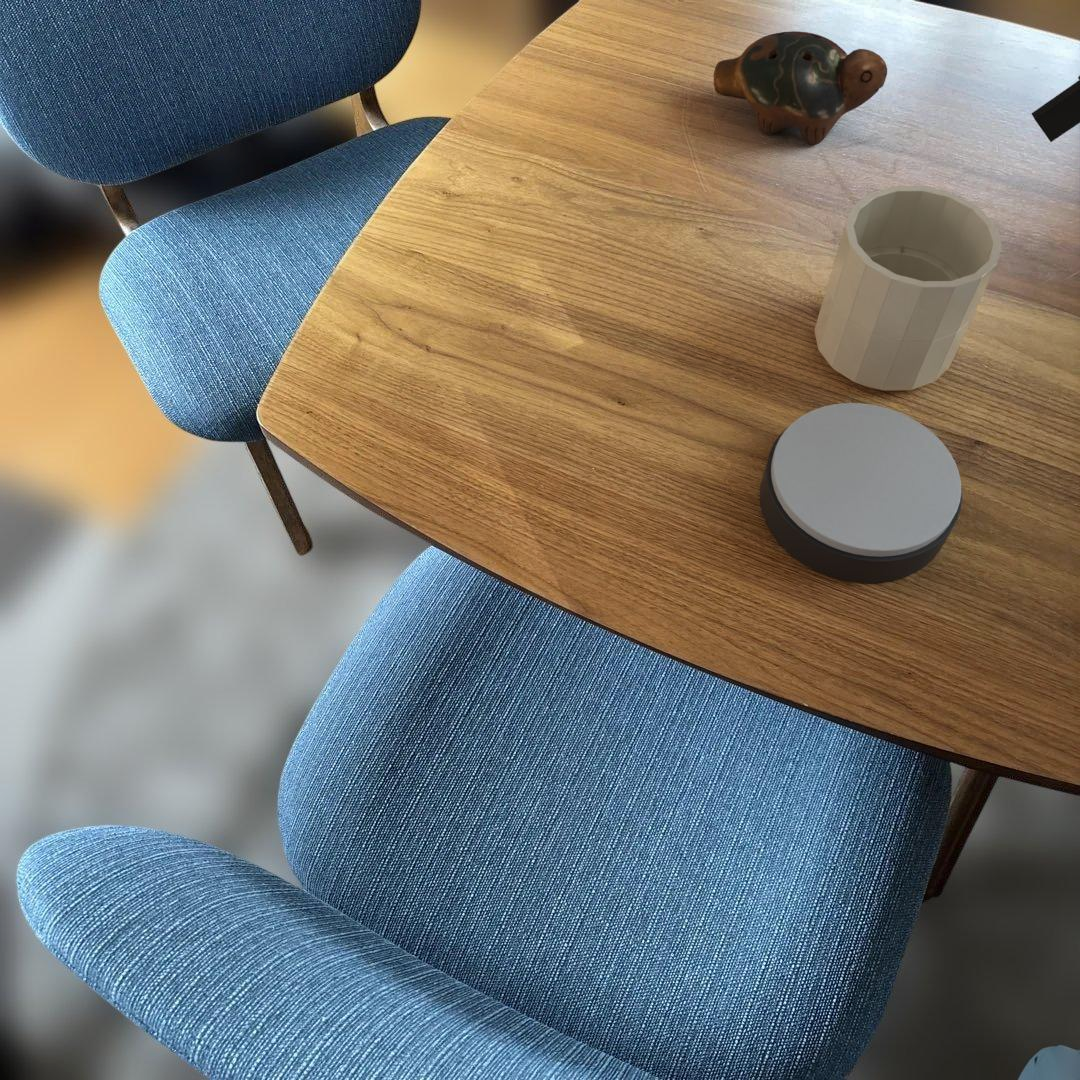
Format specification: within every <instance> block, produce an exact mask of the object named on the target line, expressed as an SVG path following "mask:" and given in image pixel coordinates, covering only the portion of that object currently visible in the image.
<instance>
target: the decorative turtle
mask: <svg viewBox="0 0 1080 1080" xmlns="http://www.w3.org/2000/svg"><path fill="white" fill-rule="evenodd" d="M887 76H888V66H887V63H886V61H885V60H884V58H883V57H882V56H880V55H879V54H878V53H876V52H875V51H874V50H873V51H872V50H870V49H866V48H857V49H854V50H852V51H851V52H849V53H847V52H846V51H845V50H844V49H843V48H842V47H841V46H840V45H838V44H837V43H836V42H834V41H833V40H831V39H829V38H827V37H825V36H823V35H820V34H818V33H817V34H816V33H812V32H807V31H799V30H798V31H797V30H796V31H793V30H791V31H782V32H781V31H780V32H775V33H771V34H768V35H765V36H763V37H760V38H758V39H757V40H754V41H753V42H752V43H750V44H749V46H747V47H746V48H745V49H744V50H743V52H742V53H741V54H740V55H739V56H737V57H735V58H729V59H723V60H720V61H718V62H717V63H716V65H715V67H714V70H713V87H714V91H715V92H716V93H717V94H719V95H721V96H724V97H728V98H734V99H741V100H742V99H743V100H746V101H747V102H748V104H749V105H750V107H751V108H752V109H753V111H754V112H755V117H756V122H757V125H758V128H759V130H760V131H761V133H763V134H764V135H766V136H770V135H773V134H776V133H778V132H780V131H782V130H784V129H786V128H792V127H793V128H795V129H797V130H798V131H799V133H800V135H801V136H802V138H803V139H804V141H805V142H806V143H807V145H810V146H817V145H819V144H820V143H821V142H823V141H824V140H825V138H826V137H827V136H828V134H829V133H830V131H832V129H833V127H834V126H835V125H836V123H837V122H838V121H839V120H840V119H841V118H842V117H843V116H844V115H845V114H847V113H849V112H851V111H853V110H855V109H857V108H859V107H861V105H863V104H865V103H866V102H868V101H869V100H870V99H872V97H874V96H875V95H876V94H878V92H879V91H880V89H881V88H883V87H884V86H885V83H886V79H887Z"/></svg>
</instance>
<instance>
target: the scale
mask: <svg viewBox="0 0 1080 1080" xmlns="http://www.w3.org/2000/svg"><path fill="white" fill-rule="evenodd" d="M962 502H963V489H962V481H961V475H960V472H959V469H958V466H957V464H956V461H955V459H954V458H953V455H952V453H951V452H950V450H949V449H948V448H947V447H946V445H945V444H944V443H943V441H941V439H939V437H938V436H937V435H936V434H935V433H934V432H932V431H931V430H930V429H929V428H927V427H926V426H925V425H923V424H922V423H921V422H919V421H917V420H915V418H912V417H911V416H909V415H906V414H905V413H902V412H899V411H897V410H894V409H891V408H888V407H885V406H880V405H876V404H870V403H863V402H841V403H833V404H829V405H825V406H821V407H817V408H816V409H813V410H810V411H808V412H806V413H805V414H802V415H801V416H800V417H798V418H796V419H795V420H794V421H793V422H791V423H790V425H788V426H787V427H786V428H785V429H784V430H783V431H782V432H781V433H780V434H779V435H778V437H777V438H776V439H775V441H774V442H773V444H772V446H771V448H770V451H769V453H768V456H767V460H766V463H765V467H764V471H763V474H762V478H761V482H760V487H759V504H760V509H761V514H762V516H763V517H762V518H763V519H764V522H765V524H766V526H767V528H768V529H769V531H770V533H771V535H772V536H773V537H774V539H775V540H776V541H777V543H778V544H779V545H780V546H781V547H782V548H783V549H784V551H786V552H787V553H788V554H789V555H790V556H791V557H793V558H794V559H795V560H797V561H798V562H800V563H801V564H802V565H803V566H805V567H807V568H809V569H811V570H813V571H815V572H817V573H818V574H821V575H824V576H827V577H828V578H829V577H830V578H833V579H836V580H838V581H839V580H840V581H843V582H849V583H857V584H882V583H888V582H889V583H890V582H893V581H897V580H901V579H904V578H907V577H908V576H911V575H913V574H915V573H917V572H919V571H920V570H923V568H924V567H926V566H928V564H929V563H931V562H932V561H933V560H934V559H935V558H936V556H937V555H938V554H939V553H940V552H941V550H942V548H943V546H945V543H946V541H947V539H948V537H950V535H951V532H952V531H953V529H954V527H955V525H956V524H957V522H958V519H959V516H960V513H961V510H962V504H963V503H962Z"/></svg>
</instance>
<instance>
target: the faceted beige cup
mask: <svg viewBox="0 0 1080 1080" xmlns="http://www.w3.org/2000/svg"><path fill="white" fill-rule="evenodd" d="M841 233H842V234H841V237H840V241H839V245H838V248H837V250H836V254H835V258H834V261H833V264H832V269H831V272H830V275H829V277H828V282H827V285H826V289H825V293H824V295H823V298H822V302H821V306H820V310H819V313H818V315H817V319H816V323H815V326H814V328H813V329H814V336H815V340H816V345H817V350H818V351H819V353H820V354H821V356H822V358H824V359H825V361H826V362H827V363H828V364H829V366H830V367H831V368H832V369H833V370H834V371H835V372H838V373H839V374H840V375H842V376H843V377H845V378H846V379H849V380H850V381H851V382H853V383H856V384H858V385H860V386H864V387H866V388H870V389H873V390H879V391H912V390H916V389H918V388H921V387H924V386H927V385H930V384H932V383H934V382H936V381H937V380H938V379H939V378H940V377H942V375H943V374H944V373H945V372H946V371H948V370H949V369H950V368H951V365H952V364H953V361H954V359H955V357H956V354H957V352H958V349H959V348H960V346H961V343H962V342H963V339H964V338H965V337H964V336H965V335H966V333H967V330H968V329H969V326H970V324H971V322H972V320H973V317H974V316H975V313H976V312H977V310H978V307H979V304H980V302H981V301H982V298H983V297H984V294H985V291H986V289H987V287H988V285H989V283H990V281H991V278H992V277H993V274H994V272H995V270H996V268H997V266H998V263H999V259H1000V257H1001V251H1002V247H1003V241H1002V238H1001V237H1000V234H999V230H998V228H997V225H996V224H995V222H994V221H993V220H992V219H991V218H990V217H989V216H988V215H987V214H986V213H985V212H984V211H983V210H982V209H981V208H980V207H979V206H978V205H977V204H975V203H973V202H971V201H969V200H967V199H965V198H963V197H961V196H959V195H957V194H955V193H954V192H951V191H947V190H942V189H938V188H934V187H930V186H926V185H894V186H893V185H892V186H889V187H886V188H883V189H880V190H876V191H873V192H869V193H868V194H866V195H865V196H864V197H862V198H861V199H860V200H858V201H857V202H856V203H855V204H854V205H852V206H851V208H850V210H849V213H848V216H847V218H846V222H845V224H844V227H843V231H842V232H841Z"/></svg>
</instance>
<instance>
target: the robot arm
mask: <svg viewBox="0 0 1080 1080" xmlns="http://www.w3.org/2000/svg"><path fill="white" fill-rule="evenodd" d="M1077 78H1078V80H1077V81H1075V82H1074V83H1073V84H1071V85H1070V86H1069V87H1067V88H1066V89H1064V90H1063V91H1061V92H1060V93H1058V94H1056V95H1055V96H1054V97H1053V98H1051V99H1050V100H1048V101H1047V102H1046V103H1044V104H1043V105H1041V106H1040V107H1038V108H1036V109H1035V110H1034V111H1032V112H1031V113H1030V114H1031V115H1032V117H1033V119H1034V121H1035V122H1036V124H1037V125H1038V127H1040V129H1041V131H1042V132H1043V133H1044V135H1045V136H1046V138H1047V139H1048V141H1049V142H1050V143H1052V142H1053V141H1055V140H1057V139H1058V138H1059V137H1061V136H1062V135H1065V134H1066V133H1067V132H1068V131H1070V130H1072V129H1073V128H1075V127H1076V126H1077V125H1079V124H1080V75H1078V76H1077ZM1017 1080H1080V1049H1078V1050H1077V1049H1074V1048H1071V1047H1068V1046H1066V1045H1063V1044H1058V1045H1057V1046H1056V1045H1055V1046H1046V1047H1043V1048H1041V1049H1040V1050H1039V1051H1037V1052H1036V1053H1035V1054H1034V1055H1033V1056H1032V1057H1031V1058H1030V1059H1029V1060H1028V1062H1027V1064H1026V1065H1025V1066H1024V1068H1023V1070H1021V1073H1020V1075H1019V1077H1018V1079H1017Z"/></svg>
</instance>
